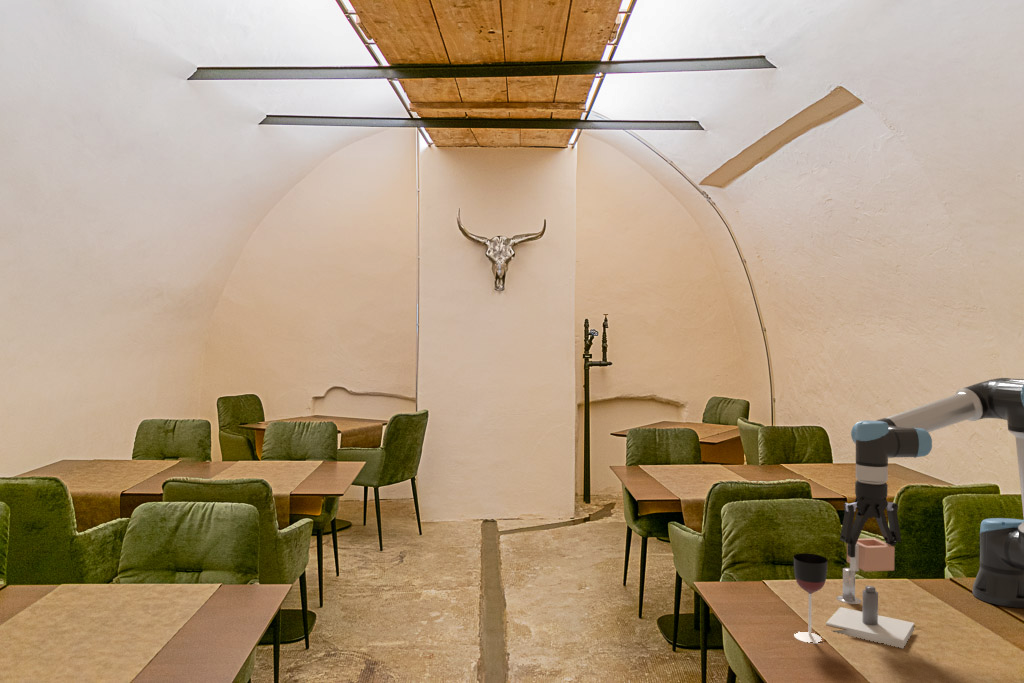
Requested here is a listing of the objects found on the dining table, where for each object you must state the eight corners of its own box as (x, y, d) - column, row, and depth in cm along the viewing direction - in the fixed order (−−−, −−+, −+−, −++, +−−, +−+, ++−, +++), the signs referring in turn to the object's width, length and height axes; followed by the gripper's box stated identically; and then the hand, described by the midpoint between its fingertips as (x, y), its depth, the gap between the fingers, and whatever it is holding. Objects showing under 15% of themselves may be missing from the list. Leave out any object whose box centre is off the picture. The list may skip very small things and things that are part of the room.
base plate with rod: (914, 630, 193) (914, 587, 193) (903, 648, 182) (903, 602, 182) (840, 614, 204) (840, 573, 204) (825, 630, 193) (826, 587, 193)
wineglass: (825, 632, 192) (826, 555, 191) (828, 646, 184) (828, 565, 183) (792, 628, 194) (793, 552, 194) (793, 641, 186) (794, 561, 186)
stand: (864, 604, 212) (864, 569, 212) (858, 611, 207) (858, 575, 207) (839, 599, 216) (839, 564, 216) (833, 605, 211) (833, 570, 211)
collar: (875, 560, 198) (875, 538, 197) (894, 570, 190) (894, 546, 190) (846, 561, 197) (847, 539, 196) (864, 571, 189) (865, 547, 188)
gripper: (899, 477, 198) (898, 563, 198) (825, 478, 195) (824, 565, 195) (918, 483, 190) (917, 572, 191) (841, 484, 188) (840, 575, 188)
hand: (870, 568), depth 193 cm, fingers closed on collar, 8 cm apart
